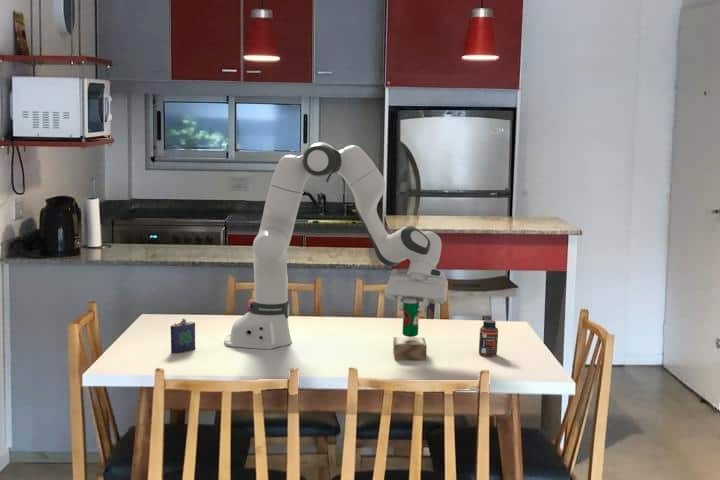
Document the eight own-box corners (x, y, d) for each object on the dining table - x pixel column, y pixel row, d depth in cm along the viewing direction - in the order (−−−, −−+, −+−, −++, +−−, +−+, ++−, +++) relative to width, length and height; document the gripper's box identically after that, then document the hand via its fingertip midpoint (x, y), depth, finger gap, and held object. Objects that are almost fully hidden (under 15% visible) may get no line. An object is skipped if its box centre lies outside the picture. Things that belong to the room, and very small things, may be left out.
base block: (394, 360, 295) (395, 344, 294) (393, 351, 305) (393, 336, 304) (426, 360, 295) (426, 344, 294) (423, 352, 305) (424, 336, 304)
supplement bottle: (485, 357, 301) (487, 323, 299) (475, 353, 306) (476, 319, 304) (500, 356, 303) (502, 322, 302) (490, 351, 308) (491, 318, 307)
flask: (192, 347, 304) (192, 315, 303) (197, 349, 302) (197, 317, 301) (169, 352, 298) (168, 320, 296) (174, 354, 296) (174, 321, 294)
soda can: (416, 337, 296) (417, 300, 294) (400, 336, 297) (401, 299, 296) (419, 334, 301) (420, 297, 299) (404, 332, 302) (405, 296, 301)
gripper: (388, 267, 306) (377, 302, 299) (448, 272, 299) (438, 308, 291) (392, 278, 311) (382, 313, 304) (451, 284, 304) (442, 319, 296)
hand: (410, 310), depth 297 cm, fingers closed on soda can, 5 cm apart
